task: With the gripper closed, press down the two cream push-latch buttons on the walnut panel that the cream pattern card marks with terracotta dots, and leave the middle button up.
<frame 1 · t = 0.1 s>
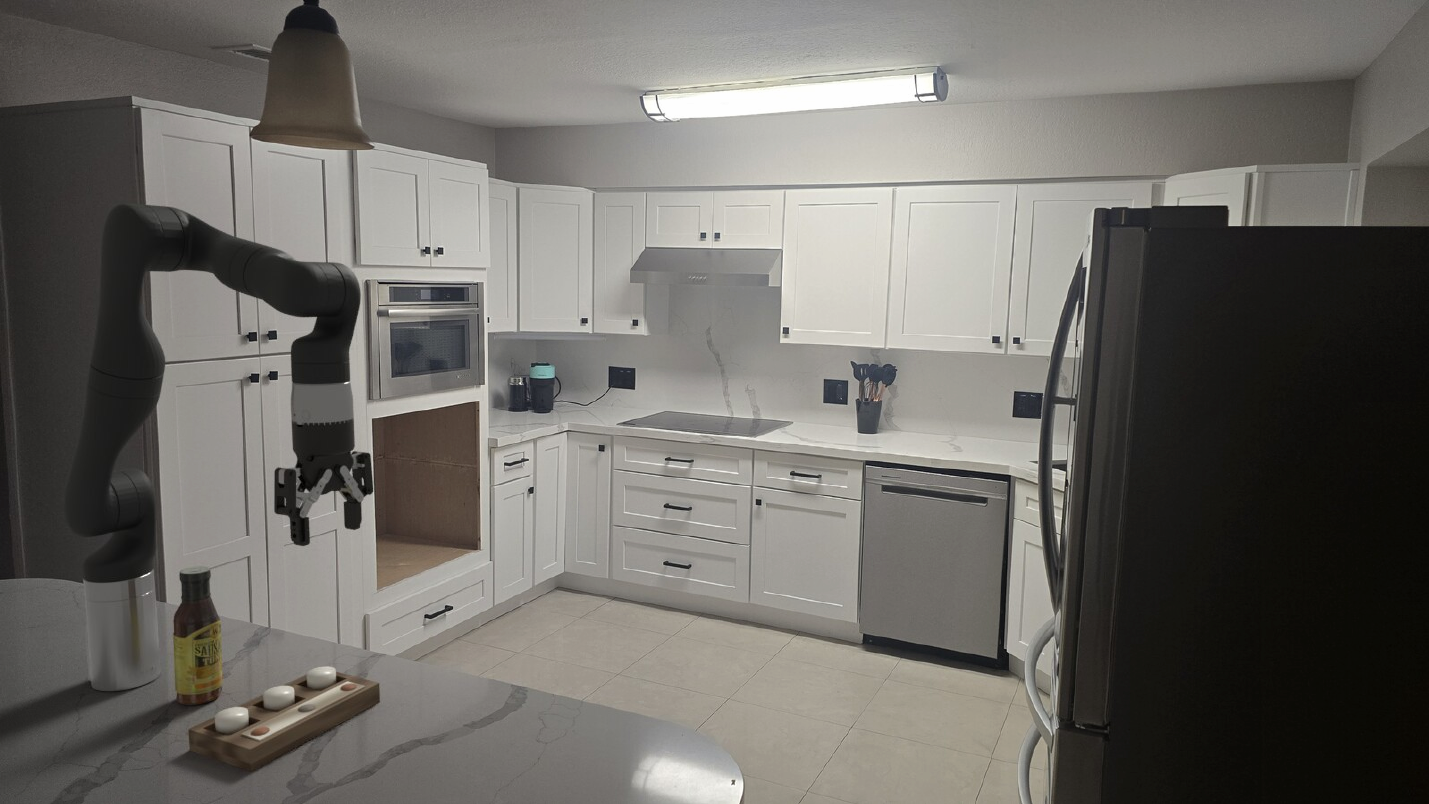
hand: (327, 536, 122), 29 cm above the countertop, fingers open, 8 cm apart
button panel: (290, 724, 130), on the countertop
button c: (231, 720, 124), point 4 cm above the countertop, slide at 0.0 cm
sauce bottle: (200, 698, 138), on the countertop
button b: (279, 698, 131), point 4 cm above the countertop, slide at 0.0 cm
button a: (321, 678, 138), point 4 cm above the countertop, slide at 0.0 cm
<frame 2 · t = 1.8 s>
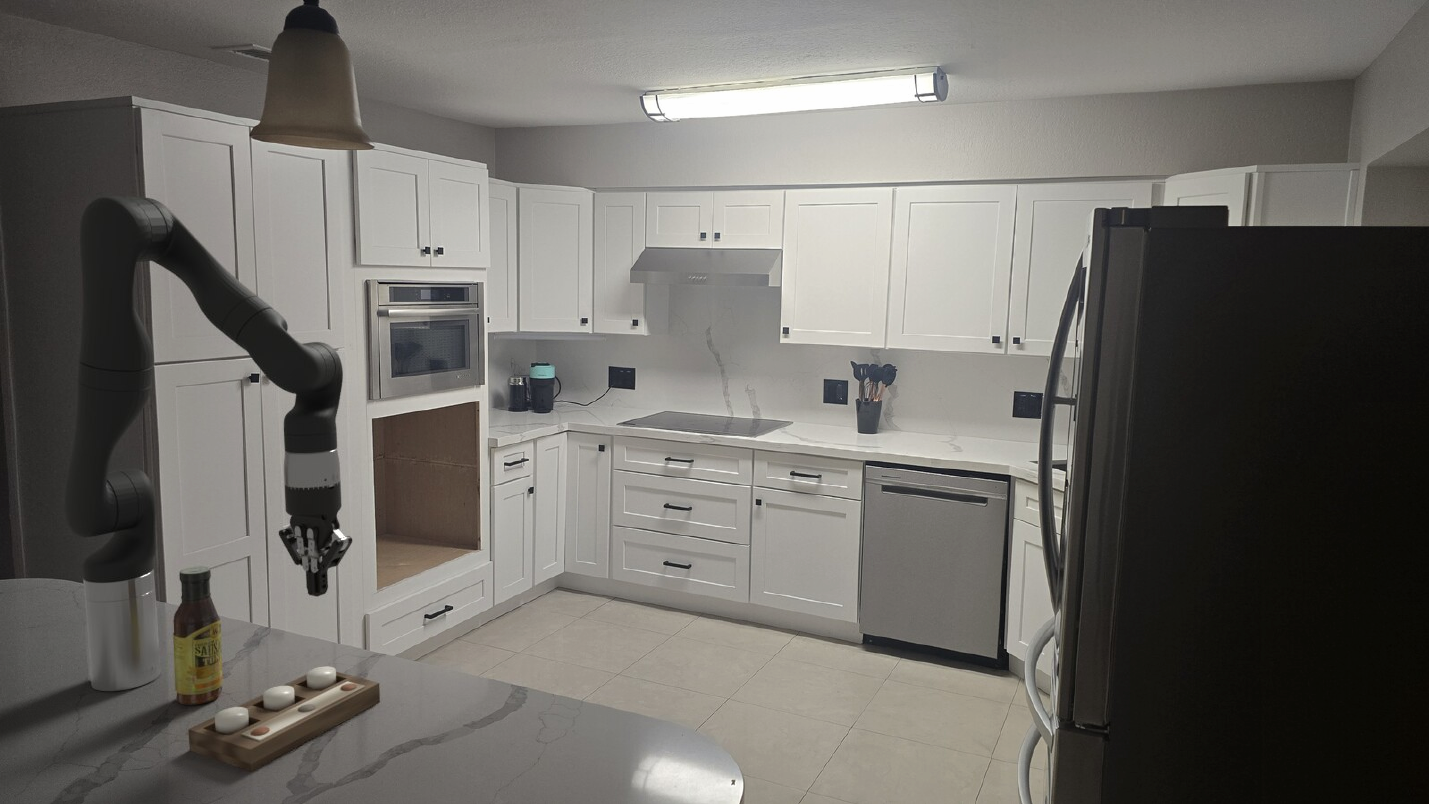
hand: (317, 594, 136), 17 cm above the countertop, fingers closed
nothing on the countertop moved.
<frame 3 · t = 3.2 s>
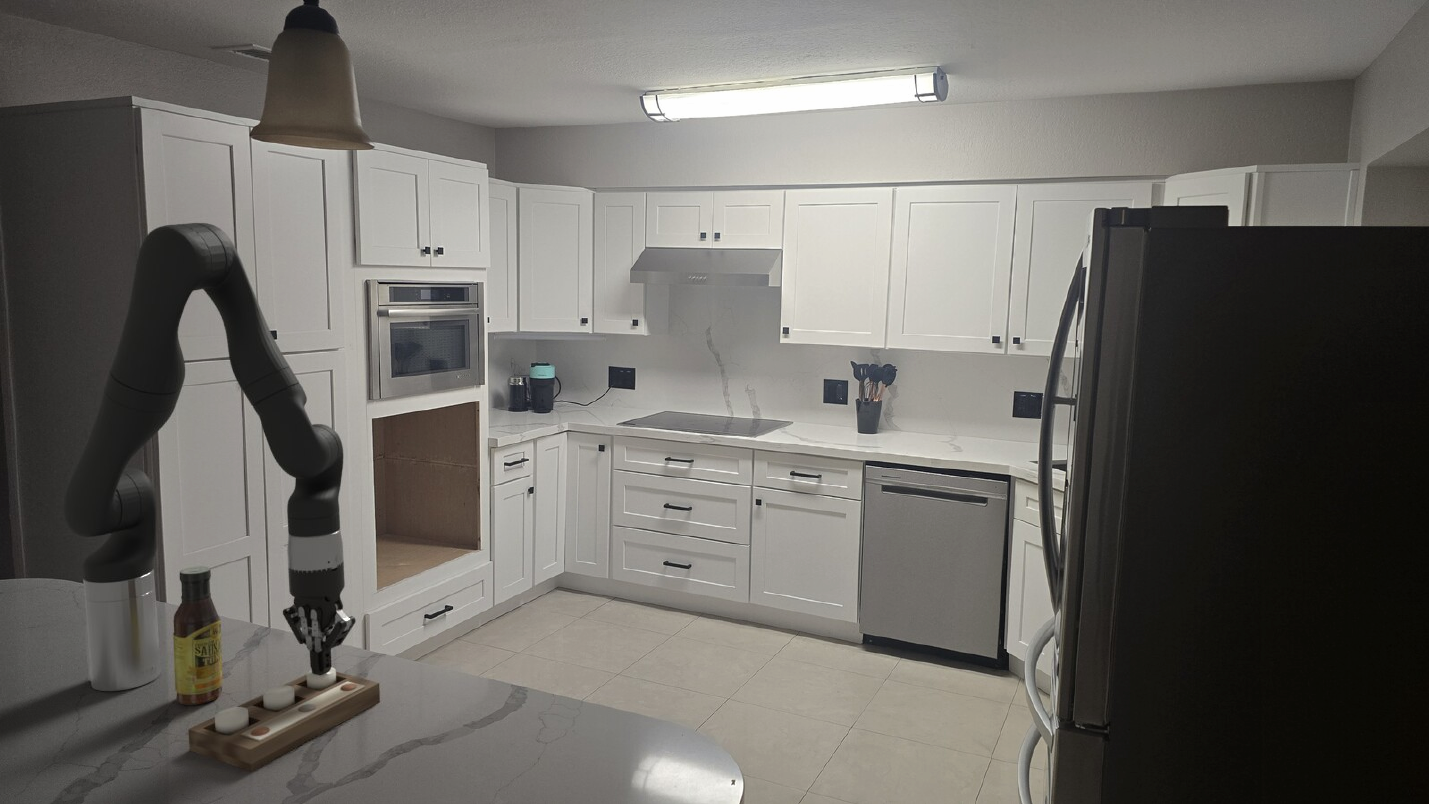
hand: (321, 672, 137), 4 cm above the countertop, fingers closed
button a: (321, 678, 138), point 3 cm above the countertop, slide at 0.0 cm, touching gripper
everything else where it was.
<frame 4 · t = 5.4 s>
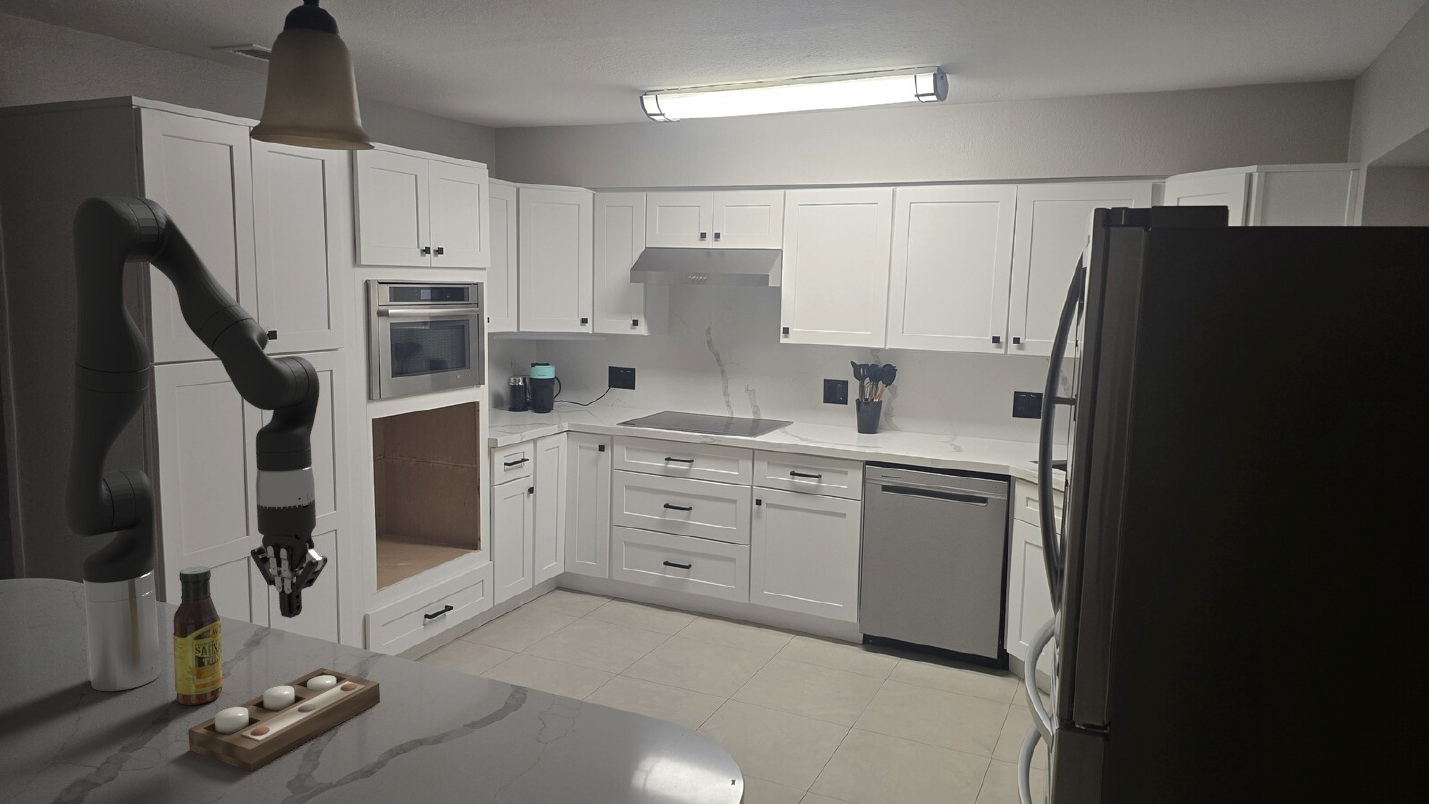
hand: (291, 615, 132), 15 cm above the countertop, fingers closed
button a: (321, 687, 138), point 2 cm above the countertop, slide at 1.4 cm
everything else where it was.
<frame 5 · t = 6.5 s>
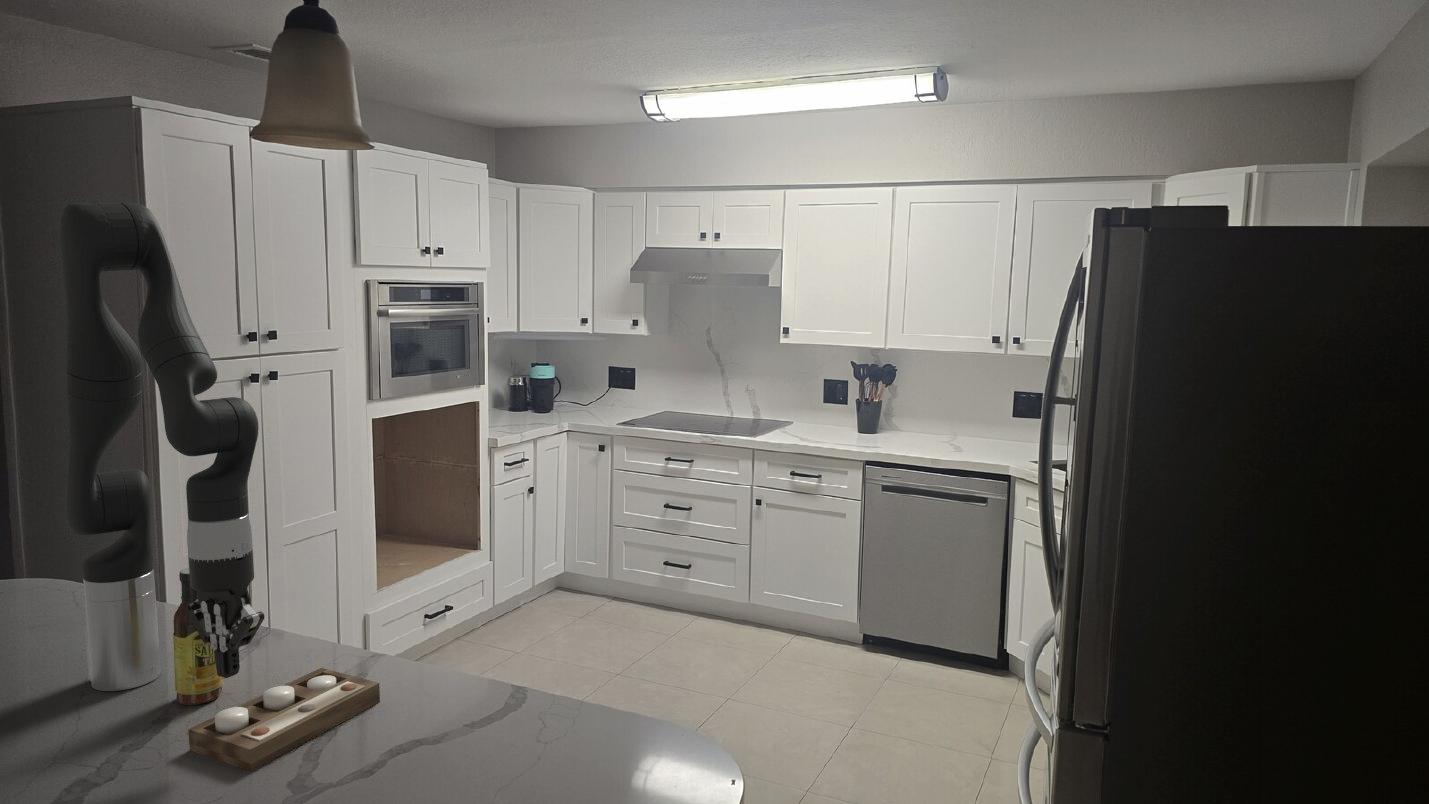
hand: (228, 674, 123), 10 cm above the countertop, fingers closed
nothing on the countertop moved.
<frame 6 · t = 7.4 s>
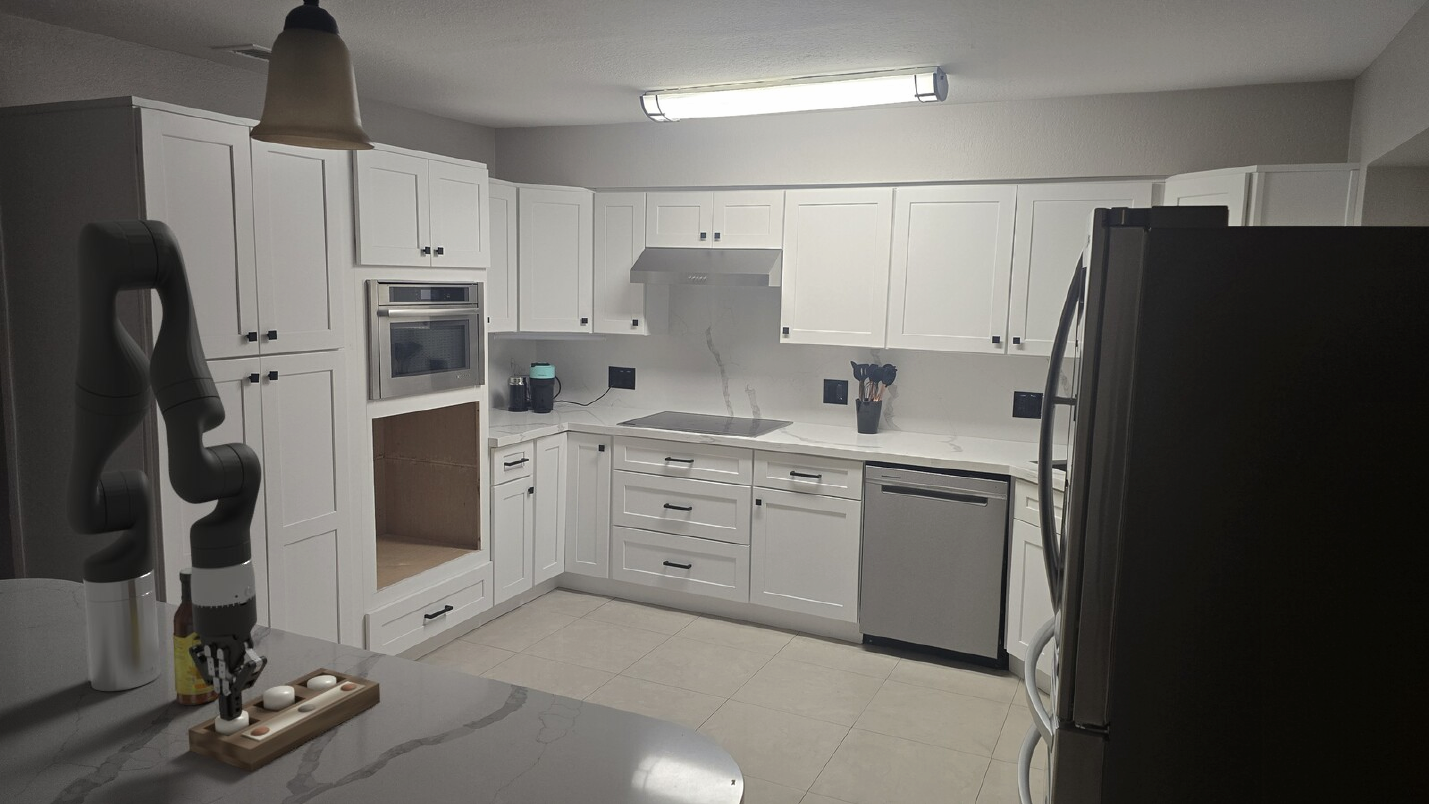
hand: (231, 717, 124), 4 cm above the countertop, fingers closed
button c: (232, 723, 124), point 3 cm above the countertop, slide at 0.5 cm, touching gripper
everything else where it was.
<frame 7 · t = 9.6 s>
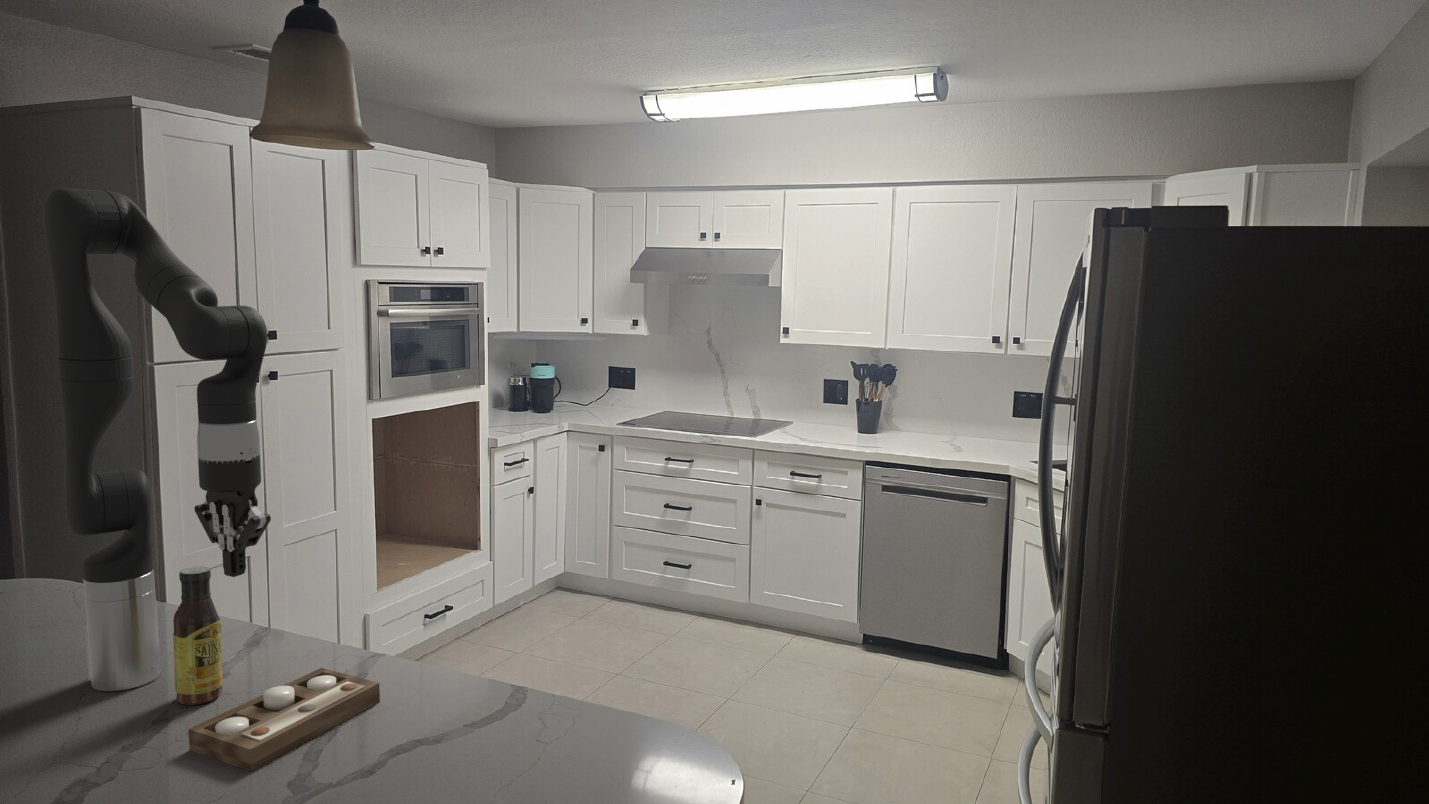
hand: (235, 574, 127), 22 cm above the countertop, fingers closed
button c: (232, 730, 124), point 2 cm above the countertop, slide at 1.4 cm
everything else where it was.
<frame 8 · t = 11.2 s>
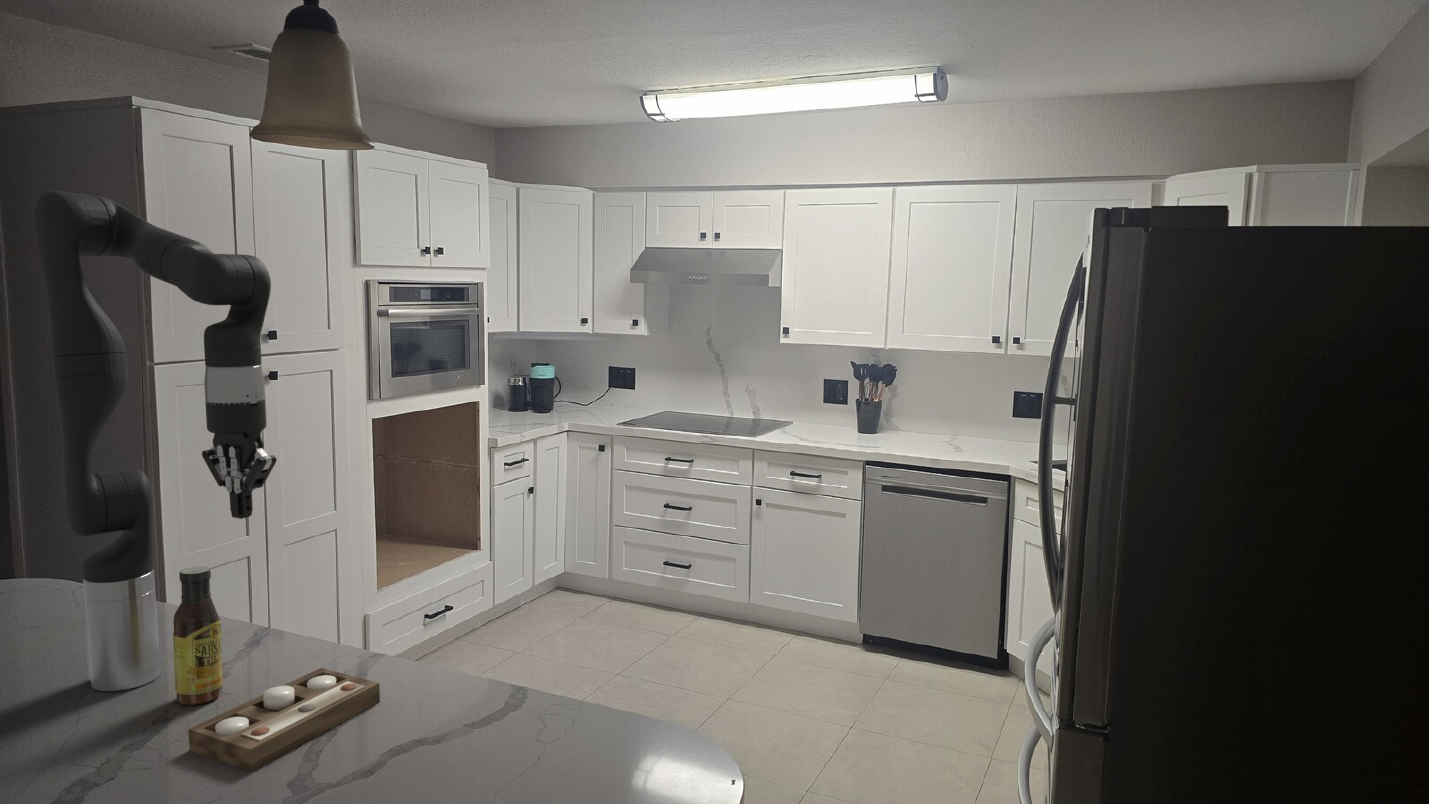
hand: (242, 516, 131), 29 cm above the countertop, fingers closed
nothing on the countertop moved.
at the end: button a slide at 1.4 cm; button c slide at 1.4 cm; button b slide at 0.0 cm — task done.
